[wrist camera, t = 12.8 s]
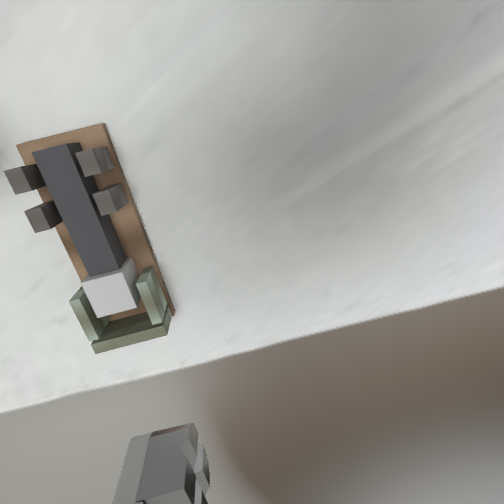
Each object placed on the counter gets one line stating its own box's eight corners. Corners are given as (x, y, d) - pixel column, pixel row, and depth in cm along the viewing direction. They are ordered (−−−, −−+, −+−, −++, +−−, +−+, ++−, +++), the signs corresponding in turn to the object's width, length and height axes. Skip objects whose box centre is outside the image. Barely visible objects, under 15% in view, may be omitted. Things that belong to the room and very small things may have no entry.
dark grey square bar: (42, 151, 30) (18, 154, 27) (84, 140, 30) (66, 142, 27) (109, 298, 36) (97, 318, 32) (144, 289, 36) (136, 307, 32)
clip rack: (21, 144, 31) (-13, 147, 26) (104, 123, 31) (85, 122, 26) (109, 328, 38) (94, 355, 34) (175, 311, 39) (169, 336, 34)
